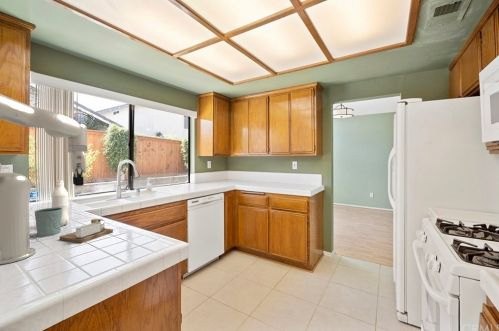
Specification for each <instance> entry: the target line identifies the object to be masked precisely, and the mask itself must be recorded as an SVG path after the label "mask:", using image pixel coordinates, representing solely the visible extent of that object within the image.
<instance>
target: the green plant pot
mask: <svg viewBox="0 0 499 331" xmlns="http://www.w3.org/2000/svg"><path fill="white" fill-rule="evenodd" d="M34 216H35V219H34V220H35V227H36V236H37V237H38V238H44V237H51V236H55V235H58V234H60V233H61V231H62V230H61V228H62V226H61V217H62V208H52V207H49V208H48V207H47V208H41V209H40V208H39V209H37V210H34Z"/></svg>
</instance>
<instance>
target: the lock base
mask: <svg viewBox="0 0 499 331" xmlns="http://www.w3.org/2000/svg"><path fill="white" fill-rule="evenodd" d="M99 219H100V218H93V219H91V220H90V224H92V223H95V222H96V221H98V220H99ZM101 219H102V218H101ZM102 220H104V219H102ZM113 232H114V229H112V228H108V227H107V228H106V227H105V230H104V231H100V232H97V233H94V234H91V235H88V236H85V237H82V238H80V237H76V231H73V232H70V233H67V234H64V235H61V236H59V240H60V241H65V242H71V243H77V244H83V243H87V242H89V241H90V242H91V241H92V240H95V239H98V238H100V237H104V236H106V235H110V234H113Z"/></svg>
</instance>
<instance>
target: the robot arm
mask: <svg viewBox="0 0 499 331" xmlns="http://www.w3.org/2000/svg"><path fill="white" fill-rule="evenodd" d="M0 120H1V121H4V122H7V123H10V124H13V125H17V126H20V127H27V128H37V129H44V132H45V133H46V134H47V135H48V136H50V137H51V138H52V137H53V138H67V153H70V161H71V162H70V163H71V164H70V165H71V173H72V174H73V176H72V184H73V185H74V186H75V187H80V186H84V174H85V173H87V166H86V163H87V162H86V154H87V153H88V129H87V128H88V126H87V125H86V124H83V123H79V122H78V121H77V120H75V119H73V118H70V117H68V116H66V115H63V114H61V113H58V112H55V111H52V110H51V111H50V110H47V109H44V108H40V107H36V106H31V105H28V104H27V103H24V102H21V101H19V100H18V99H17V100H16V99H13V98H12V97H9V96H7V95H4V94H2V93H0ZM2 167H3V166H2V163H1V162H0V265H6V264H10V263H11V264H12V263H15V262H19V261H22V260H25V259H28V258H29V257H32V256H34V255H35V254H36V250H37V249H36V248H34V247H31V241H30V239H31V237H30V236H31V235H30V212H29V211H30V209H29V207H30V206H29V203H30V195H31V190H32V183H31V181H30V179H29V178H28V177H27V176H25V175H23V174H22V173H16V172H1V171H2V169H3V168H2Z"/></svg>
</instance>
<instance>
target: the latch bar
mask: <svg viewBox="0 0 499 331" xmlns="http://www.w3.org/2000/svg"><path fill="white" fill-rule="evenodd" d="M98 219H99V220H98V221H96V222H95V223H92V224H91V223H88V224H86V225H82V226H79V227H76V228H75V232H76V237H80V238H82V237H85V236H88V235H91V234H94V233H97V232H100V231H104V230H105V228H106V227H105V220H104V219H103V220H102V218H98Z"/></svg>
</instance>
